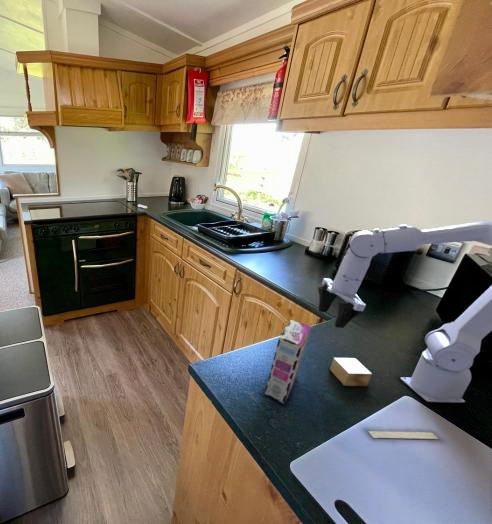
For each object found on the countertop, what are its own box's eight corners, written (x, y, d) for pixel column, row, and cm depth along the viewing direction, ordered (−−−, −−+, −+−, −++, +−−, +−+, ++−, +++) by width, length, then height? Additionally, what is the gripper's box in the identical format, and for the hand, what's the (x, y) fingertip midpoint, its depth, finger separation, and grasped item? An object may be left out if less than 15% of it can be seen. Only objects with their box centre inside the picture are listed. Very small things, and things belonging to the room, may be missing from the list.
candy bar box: (285, 405, 67) (302, 346, 61) (263, 394, 70) (277, 337, 64) (297, 379, 75) (312, 325, 70) (277, 370, 78) (290, 318, 73)
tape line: (431, 432, 62) (431, 432, 62) (438, 439, 60) (438, 438, 60) (367, 431, 61) (367, 431, 61) (373, 437, 60) (373, 437, 60)
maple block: (351, 370, 80) (355, 358, 78) (367, 386, 74) (372, 373, 73) (329, 369, 80) (333, 357, 78) (344, 385, 74) (348, 373, 73)
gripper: (319, 263, 82) (303, 303, 88) (354, 287, 69) (332, 333, 74) (342, 265, 83) (325, 306, 88) (382, 290, 70) (358, 335, 75)
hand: (330, 318), depth 81 cm, fingers open, 7 cm apart
